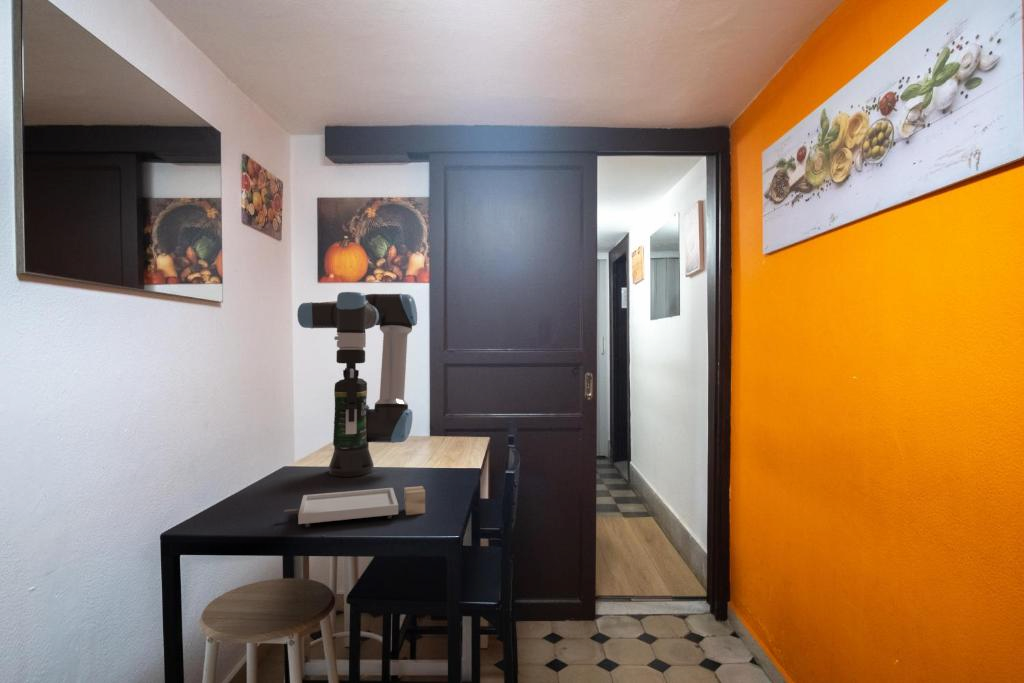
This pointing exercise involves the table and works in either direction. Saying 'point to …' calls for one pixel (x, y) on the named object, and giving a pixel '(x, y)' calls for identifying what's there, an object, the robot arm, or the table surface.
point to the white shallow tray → (346, 506)
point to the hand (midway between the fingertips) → (350, 430)
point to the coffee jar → (340, 415)
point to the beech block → (414, 500)
